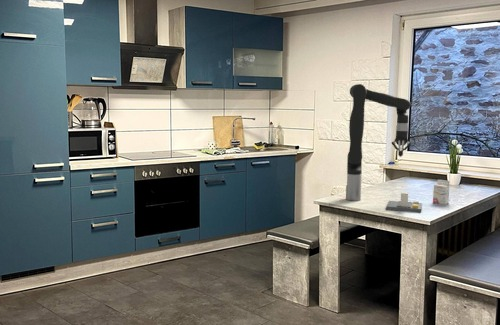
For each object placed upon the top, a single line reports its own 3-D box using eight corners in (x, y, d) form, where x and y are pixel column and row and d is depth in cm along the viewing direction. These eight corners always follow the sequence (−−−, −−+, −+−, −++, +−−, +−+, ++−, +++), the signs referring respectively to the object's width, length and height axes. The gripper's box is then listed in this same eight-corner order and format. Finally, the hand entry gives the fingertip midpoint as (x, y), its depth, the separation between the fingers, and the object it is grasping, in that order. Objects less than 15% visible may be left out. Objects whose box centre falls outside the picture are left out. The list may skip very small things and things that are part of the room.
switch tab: (400, 206, 302) (400, 193, 301) (400, 205, 306) (401, 192, 305) (407, 206, 301) (407, 193, 300) (407, 205, 304) (408, 192, 303)
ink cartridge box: (432, 202, 324) (433, 180, 322) (435, 201, 328) (437, 179, 326) (445, 204, 318) (446, 181, 316) (448, 203, 322) (450, 180, 320)
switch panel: (386, 209, 303) (386, 204, 302) (388, 203, 320) (388, 198, 319) (421, 212, 296) (421, 206, 296) (421, 206, 313) (422, 200, 312)
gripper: (391, 130, 327) (389, 156, 329) (412, 130, 322) (410, 157, 324) (391, 129, 334) (390, 155, 336) (412, 130, 329) (411, 156, 331)
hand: (400, 156), depth 330 cm, fingers closed
